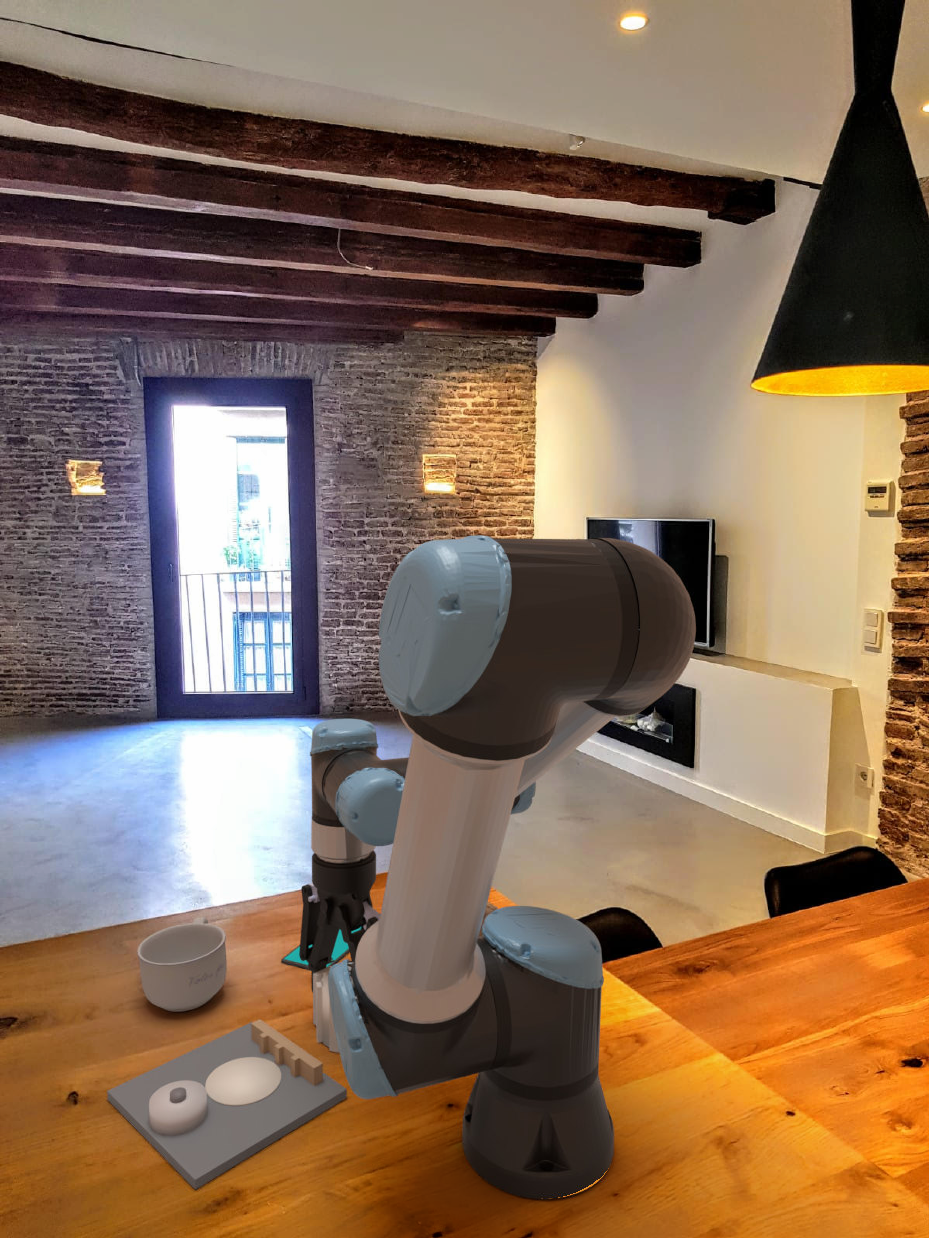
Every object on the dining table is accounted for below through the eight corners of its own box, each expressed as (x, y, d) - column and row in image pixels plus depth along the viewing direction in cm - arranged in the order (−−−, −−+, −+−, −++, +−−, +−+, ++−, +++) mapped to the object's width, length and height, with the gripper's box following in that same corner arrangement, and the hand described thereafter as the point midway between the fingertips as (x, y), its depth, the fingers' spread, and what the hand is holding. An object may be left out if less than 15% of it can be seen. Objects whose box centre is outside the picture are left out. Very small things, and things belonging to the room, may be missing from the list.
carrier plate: (346, 1097, 94) (346, 1066, 93) (195, 1189, 81) (194, 1153, 80) (252, 1029, 106) (252, 1001, 106) (107, 1099, 93) (106, 1068, 92)
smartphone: (280, 959, 122) (336, 915, 136) (280, 965, 122) (336, 920, 136) (324, 971, 119) (378, 924, 133) (324, 977, 119) (378, 930, 133)
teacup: (201, 1027, 106) (200, 965, 105) (121, 1016, 108) (119, 955, 107) (251, 970, 120) (250, 914, 119) (179, 961, 122) (178, 906, 121)
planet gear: (382, 1035, 105) (382, 979, 104) (341, 1058, 100) (341, 1000, 100) (347, 1014, 109) (347, 959, 109) (306, 1035, 105) (306, 978, 104)
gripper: (426, 866, 98) (424, 1055, 101) (317, 821, 112) (317, 989, 115) (376, 886, 93) (375, 1085, 96) (267, 836, 106) (269, 1012, 109)
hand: (344, 1033), depth 105 cm, fingers open, 7 cm apart
